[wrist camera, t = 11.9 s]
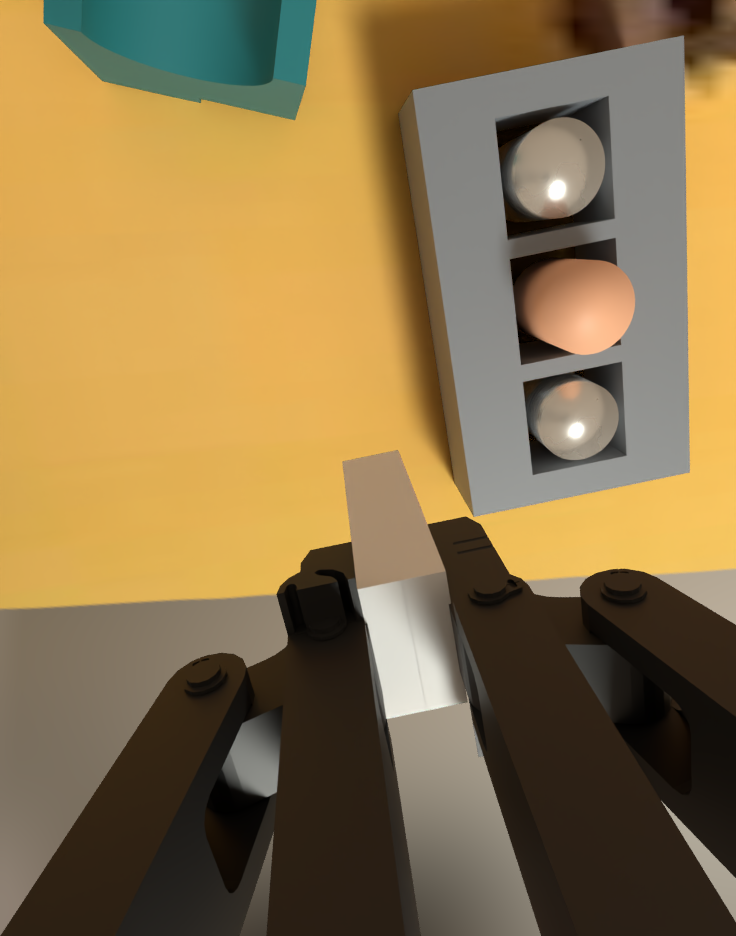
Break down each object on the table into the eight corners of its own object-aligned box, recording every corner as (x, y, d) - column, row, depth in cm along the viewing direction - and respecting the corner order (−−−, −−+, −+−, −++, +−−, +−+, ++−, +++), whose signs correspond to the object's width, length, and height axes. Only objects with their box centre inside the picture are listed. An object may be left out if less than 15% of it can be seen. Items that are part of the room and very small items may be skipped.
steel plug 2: (514, 438, 44) (544, 467, 38) (506, 371, 43) (536, 391, 37) (580, 424, 44) (620, 451, 38) (575, 357, 43) (616, 375, 37)
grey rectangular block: (454, 483, 45) (473, 516, 40) (398, 113, 37) (412, 89, 32) (643, 444, 46) (689, 472, 40) (628, 67, 37) (683, 35, 32)
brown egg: (514, 345, 39) (549, 362, 34) (506, 266, 38) (540, 270, 32) (589, 330, 39) (636, 344, 34) (584, 250, 38) (633, 251, 32)
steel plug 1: (490, 229, 40) (520, 226, 34) (480, 145, 38) (510, 127, 32) (564, 214, 40) (607, 208, 34) (558, 129, 38) (602, 108, 32)
